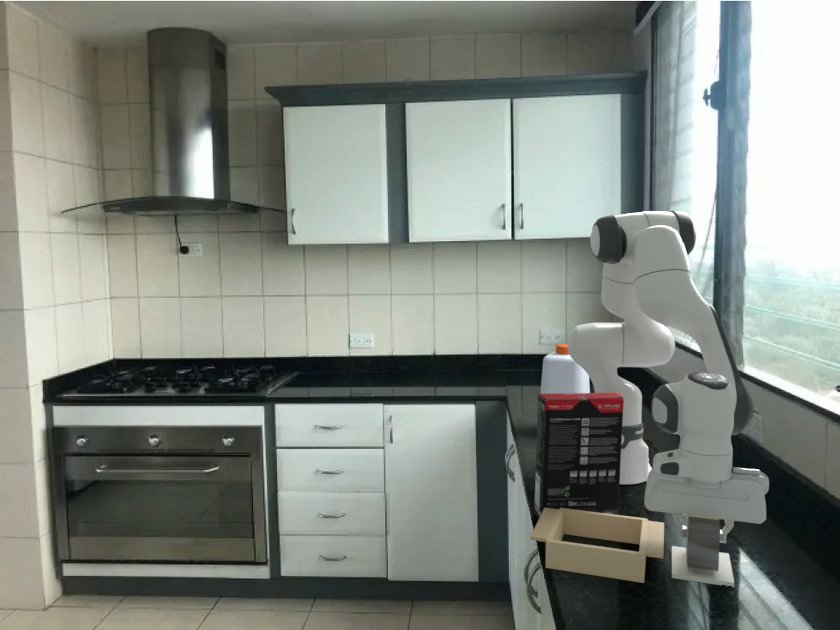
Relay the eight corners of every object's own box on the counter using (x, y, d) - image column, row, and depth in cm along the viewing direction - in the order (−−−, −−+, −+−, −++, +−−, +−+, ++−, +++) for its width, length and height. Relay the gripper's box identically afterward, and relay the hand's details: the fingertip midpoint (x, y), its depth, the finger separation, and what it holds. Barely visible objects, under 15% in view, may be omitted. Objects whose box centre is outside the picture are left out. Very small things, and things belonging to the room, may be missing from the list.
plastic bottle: (593, 432, 217) (596, 343, 214) (584, 444, 203) (586, 350, 200) (546, 426, 223) (547, 340, 220) (533, 438, 209) (535, 347, 207)
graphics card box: (609, 511, 152) (612, 389, 149) (621, 524, 145) (625, 396, 142) (533, 515, 150) (534, 391, 147) (542, 528, 143) (544, 398, 140)
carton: (544, 529, 142) (545, 505, 142) (663, 545, 134) (664, 520, 134) (529, 565, 126) (529, 538, 126) (662, 585, 118) (663, 557, 118)
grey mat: (671, 549, 132) (671, 545, 132) (728, 557, 129) (728, 553, 129) (671, 578, 121) (671, 573, 121) (734, 587, 118) (734, 582, 118)
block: (685, 541, 131) (687, 500, 130) (714, 545, 129) (716, 503, 128) (687, 566, 121) (688, 522, 120) (718, 571, 119) (720, 526, 118)
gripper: (767, 465, 123) (763, 540, 124) (646, 453, 130) (644, 524, 131) (772, 476, 117) (768, 554, 118) (645, 463, 124) (642, 538, 125)
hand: (701, 538), depth 125 cm, fingers closed on block, 5 cm apart
